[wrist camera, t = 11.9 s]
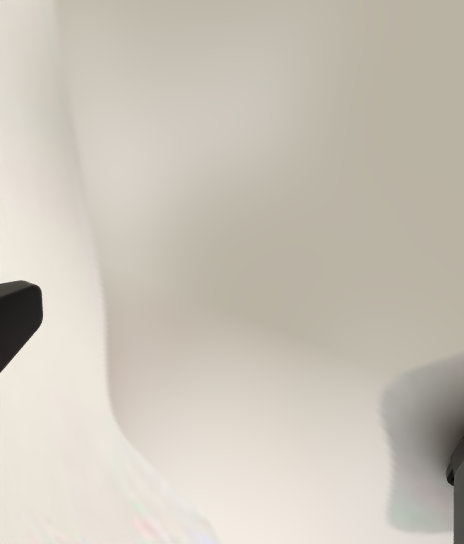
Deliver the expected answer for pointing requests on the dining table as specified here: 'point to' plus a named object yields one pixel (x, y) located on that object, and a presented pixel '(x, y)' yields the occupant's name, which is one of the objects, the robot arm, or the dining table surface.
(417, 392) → the dining table surface
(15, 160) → the dining table surface
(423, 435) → the dining table surface
